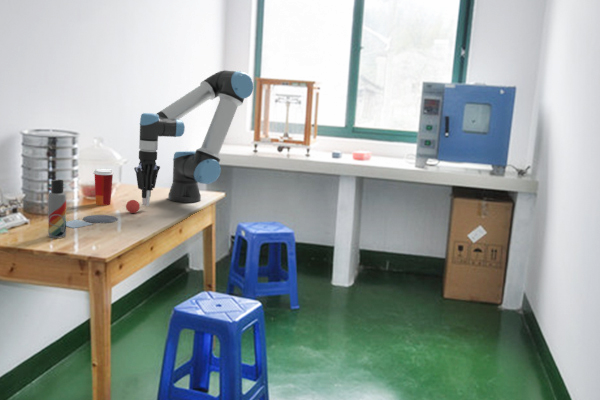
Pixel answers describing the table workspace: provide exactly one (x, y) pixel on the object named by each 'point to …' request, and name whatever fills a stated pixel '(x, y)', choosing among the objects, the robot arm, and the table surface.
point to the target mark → (100, 219)
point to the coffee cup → (103, 186)
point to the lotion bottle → (57, 210)
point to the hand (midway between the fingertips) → (145, 205)
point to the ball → (132, 206)
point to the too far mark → (77, 223)
